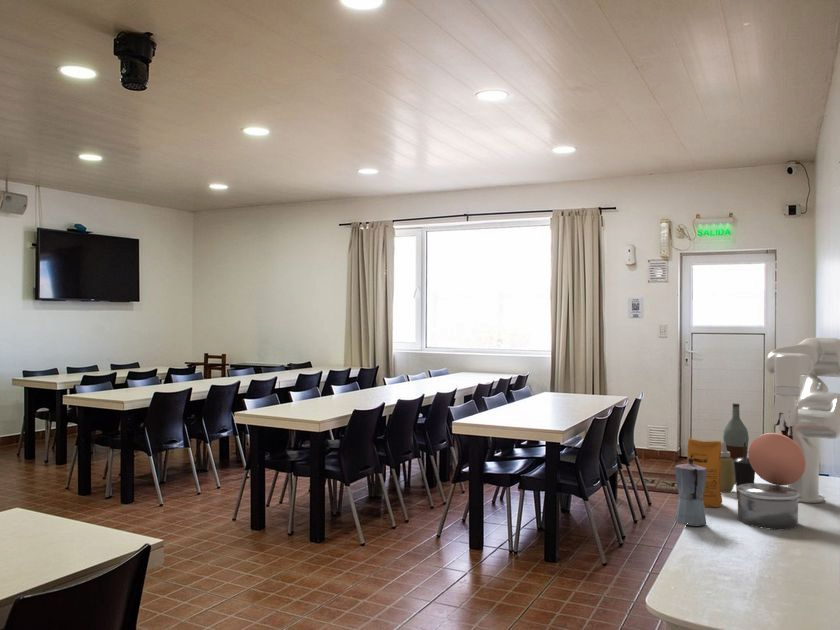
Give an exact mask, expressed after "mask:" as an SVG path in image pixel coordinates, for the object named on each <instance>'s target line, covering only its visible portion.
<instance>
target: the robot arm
mask: <svg viewBox="0 0 840 630" xmlns="http://www.w3.org/2000/svg"><path fill="white" fill-rule="evenodd" d="M765 368H766V370H767V371H768V373H769V374H773V375H774V391H773V392H774V393H773V394H774V397H775V399H774V407H773V425H774V426H776V427H777V426H779V427H778V429H779V432H780V434H782V435H785V436H787V437H789V438H790V439H792V440H793V441H794V442H796V443H797V444H798V446H799V447H800V448H801V450H802V451H803V454H804V456H805V461H806V467H805V471H804V473H803V475H802V476H801V477H800V478H799V479H798V480H797V481H796V482H794V483H792V484H789V485H787V487H788V488H791V489H794V490H796V491H798V492H799V498H798V503H810V504H815V503H816V504H817V503H822V502H824V501H825V499H824V498H825V497H824V496H823V495H821V494H819V493H820V492H819V489H820V488H819V487H820V482H819V480H820V479H819V478H820V476H819V475H820V474H819V473H820V471H819V470H820V468H819V463H820V462H819V461H820V459H819V458H820V452H819V448H818V446H817V444H816V443H815V441H814V440H813V439H812V438H819V439H827V440H828V439H829V440H834V439H837V438H840V393H839V392H838V393H837V392H829V387H828V386H827V384H826V383H825V382H824V381H823V380H822V379H821V377H827V378H828V377H829V378H840V338H837V337H808V338H805V339H803V340H802V341H801V342H799V343H798V344H794V345H793V344H792V345H789V346H783V347H778V348H775V349H773V350H771V351H770V352H769V353H768V354H767V356H766V358H765Z"/></svg>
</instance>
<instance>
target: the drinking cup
mask: <svg viewBox="0 0 840 630" xmlns="http://www.w3.org/2000/svg"><path fill="white" fill-rule="evenodd" d="M733 462H734V468H735V479H736V482H735V489H736V498H737V500H738V492H737V486H739V485H741V484H748V483H755V478H756V472H755V471H754V470H753V468H752V466H751V464H750V461H749V456H747V457H746V443H745V442H744V457H739V458H736V459H733Z"/></svg>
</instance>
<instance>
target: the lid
mask: <svg viewBox="0 0 840 630" xmlns="http://www.w3.org/2000/svg"><path fill="white" fill-rule="evenodd" d="M747 457H748V458H749V461H750V464H751V466H752V468H753V470H754V471H755V475H757V476H758V477H759V478H760V479H762V480H763V481H765V482H766V483H768V484H773V485H779V486H788V485H789V484H792V483H794V482H796V481H797V480H798V479H799V478H800V477H801V476H802V475H803V473H804V471H805V467H806V461H805V456H804V454H803V451H802V450H801V448H800V447H799V446H798V444H797V443H796V442H794V441H793V440H792V439H790V438H789V437H787V436H785V435H782V434H781V433H777V432H767V433H763V434H761V435H759V436H757V437H756V438H755V439H754V440H753V441H752V442H751V443H750V446H749V448H748V452H747Z"/></svg>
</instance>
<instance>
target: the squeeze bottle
mask: <svg viewBox="0 0 840 630" xmlns="http://www.w3.org/2000/svg"><path fill="white" fill-rule="evenodd" d="M720 460H721V476H720V490H721V493H731V492H732V491H733V490H734V486H735V485H736V482H735V475H734V465H733V459H731V458H730V452H728V451H727V448H726V444H725V442H724V441H721V456H720Z"/></svg>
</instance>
